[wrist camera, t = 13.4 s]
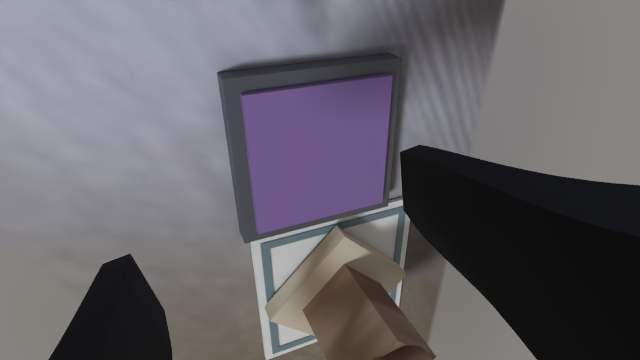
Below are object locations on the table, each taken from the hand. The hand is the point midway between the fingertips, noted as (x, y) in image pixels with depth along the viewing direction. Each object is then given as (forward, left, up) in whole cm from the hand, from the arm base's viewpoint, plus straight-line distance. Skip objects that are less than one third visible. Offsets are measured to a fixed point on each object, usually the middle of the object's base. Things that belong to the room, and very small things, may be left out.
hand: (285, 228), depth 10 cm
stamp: (-6, +13, -10) cm, 18 cm away
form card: (-6, +14, -10) cm, 18 cm away
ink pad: (-5, +3, -10) cm, 12 cm away
